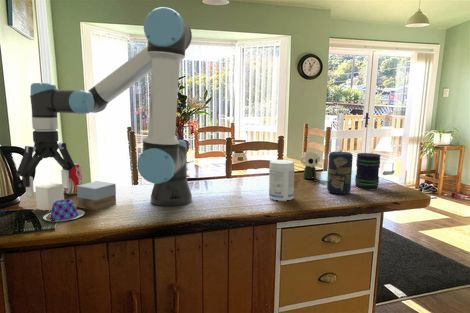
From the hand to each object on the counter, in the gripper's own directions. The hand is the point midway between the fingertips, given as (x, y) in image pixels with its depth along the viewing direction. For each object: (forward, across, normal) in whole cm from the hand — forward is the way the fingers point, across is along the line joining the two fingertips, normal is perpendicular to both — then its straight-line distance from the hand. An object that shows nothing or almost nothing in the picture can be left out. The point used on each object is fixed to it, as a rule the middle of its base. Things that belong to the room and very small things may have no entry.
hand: (48, 191), depth 120 cm
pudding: (+6, +4, +12) cm, 14 cm away
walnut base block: (+6, -9, +12) cm, 17 cm away
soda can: (+6, -18, -10) cm, 21 cm away
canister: (+4, -68, +87) cm, 111 cm away
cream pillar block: (+6, 0, 0) cm, 6 cm away
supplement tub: (+4, -48, +68) cm, 84 cm away
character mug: (+4, -90, +70) cm, 114 cm away
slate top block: (+2, -9, +13) cm, 16 cm away
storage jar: (+4, -83, +97) cm, 128 cm away
